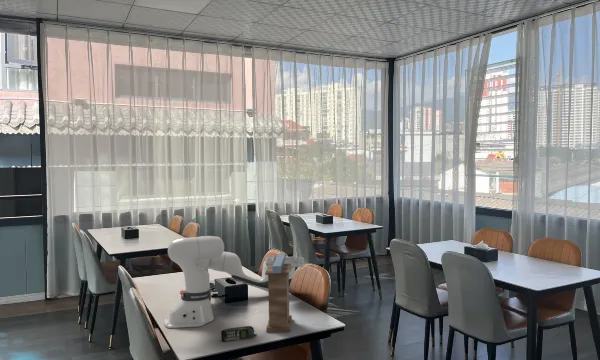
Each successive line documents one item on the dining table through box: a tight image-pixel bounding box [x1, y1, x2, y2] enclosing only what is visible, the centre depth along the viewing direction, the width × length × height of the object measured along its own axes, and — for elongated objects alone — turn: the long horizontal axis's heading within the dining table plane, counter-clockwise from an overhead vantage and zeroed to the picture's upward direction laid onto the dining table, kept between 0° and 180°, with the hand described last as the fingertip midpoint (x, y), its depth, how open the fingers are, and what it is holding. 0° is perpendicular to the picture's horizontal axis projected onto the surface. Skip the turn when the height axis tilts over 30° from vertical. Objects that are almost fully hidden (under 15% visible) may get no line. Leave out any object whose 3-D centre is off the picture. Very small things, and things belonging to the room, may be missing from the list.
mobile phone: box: [220, 325, 258, 343], centre depth 189 cm, size 5×3×15 cm
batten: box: [272, 253, 287, 273], centre depth 206 cm, size 26×4×3 cm, turn 177°
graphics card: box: [209, 280, 218, 299], centre depth 259 cm, size 10×3×25 cm
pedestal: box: [265, 264, 293, 333], centre depth 203 cm, size 16×10×26 cm, turn 177°
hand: (284, 257), depth 231 cm, fingers open, 8 cm apart
